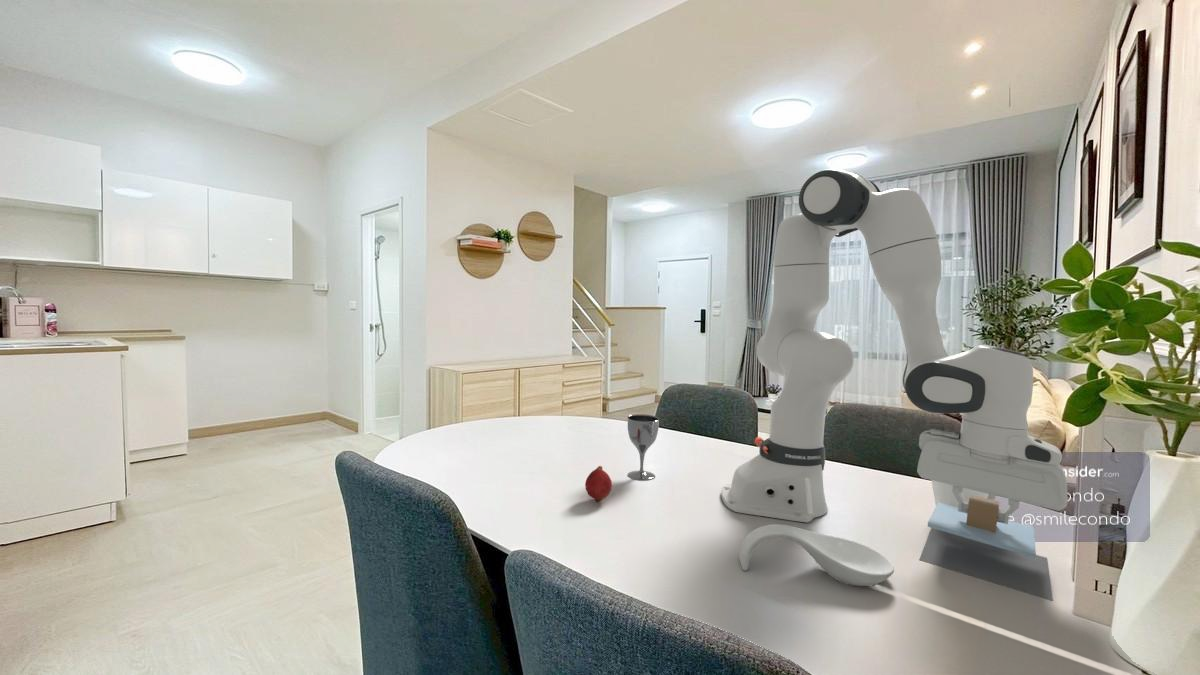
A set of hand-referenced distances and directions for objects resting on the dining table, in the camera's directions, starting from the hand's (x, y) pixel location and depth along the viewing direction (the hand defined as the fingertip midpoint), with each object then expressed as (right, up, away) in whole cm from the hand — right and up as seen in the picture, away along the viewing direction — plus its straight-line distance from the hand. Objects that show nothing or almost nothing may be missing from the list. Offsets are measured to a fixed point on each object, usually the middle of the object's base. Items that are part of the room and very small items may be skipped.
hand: (982, 516), depth 84 cm
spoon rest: (-32, -8, -4) cm, 33 cm away
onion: (-67, -5, +22) cm, 71 cm away
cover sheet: (0, -2, 0) cm, 2 cm away
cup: (+8, -7, +17) cm, 21 cm away
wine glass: (-56, -4, +39) cm, 69 cm away
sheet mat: (0, -8, 0) cm, 8 cm away
